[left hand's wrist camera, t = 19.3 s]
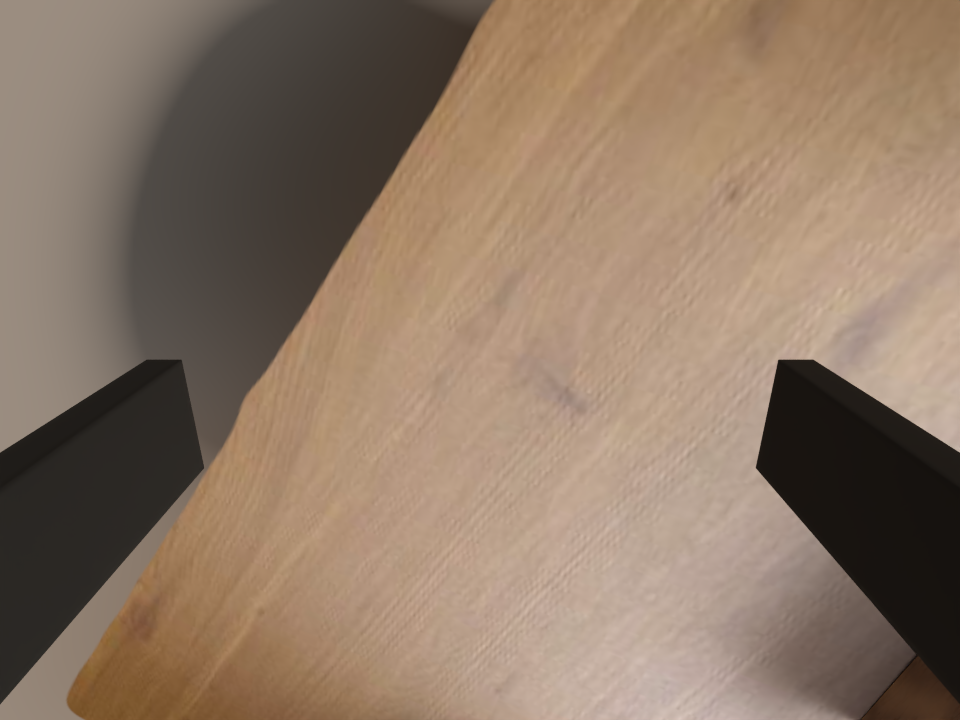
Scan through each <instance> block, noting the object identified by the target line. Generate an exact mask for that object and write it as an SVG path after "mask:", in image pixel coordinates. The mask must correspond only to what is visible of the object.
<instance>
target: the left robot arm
mask: <svg viewBox="0 0 960 720" xmlns="http://www.w3.org/2000/svg"><path fill="white" fill-rule="evenodd" d="M203 469H204V465H203V460H202V455H201V450H200V446H199V441H198V436H197V431H196V427H195V422H194V417H193V412H192V407H191V403H190V398H189V393H188V388H187V384H186V379H185V374H184V369H183V364H182V360H146V361H144V362H143V363H141V364H139V365H138V366H136V367H135V368H133V369H131V370H130V371H128V372H127V373H125V374H124V375H122V376H120V377H119V378H117V379H116V380H114V381H112V382H111V383H109V384H108V385H106V386H105V387H103V388H102V389H100V390H98V391H97V392H95V393H94V394H92V395H91V396H89V397H87V398H86V399H84V400H83V401H81V402H79V403H78V404H76V405H75V406H73V407H72V408H70V409H68V410H67V411H65V412H64V413H62V414H60V415H59V416H57V417H56V418H54V419H53V420H51V421H49V422H48V423H46V424H45V425H43V426H42V427H40V428H38V429H37V430H35V431H34V432H32V433H31V434H29V435H27V436H26V437H24V438H23V439H21V440H20V441H18V442H16V443H15V444H13V445H12V446H10V447H8V448H7V449H5V450H4V451H2V452H1V453H0V704H1V703H2V702H3V700H4V699H5V698H6V697H7V696H8V695H9V693H10V692H11V691H12V690H13V689H14V688H15V687H16V685H17V684H18V683H19V682H20V681H21V680H22V678H23V677H24V676H25V675H26V674H27V673H28V671H29V670H30V669H31V668H32V667H33V666H34V664H35V663H36V662H37V661H38V660H39V659H40V658H41V656H42V655H43V654H44V653H45V652H46V651H47V649H48V648H49V647H50V646H51V645H52V644H53V643H54V641H55V640H56V639H57V638H58V637H59V636H60V634H61V633H62V632H63V631H64V630H65V629H66V627H67V626H68V625H69V624H70V623H71V622H72V620H73V619H74V618H75V617H76V616H77V615H78V614H79V612H80V611H81V610H82V609H83V608H84V606H85V605H86V604H87V603H88V602H89V601H90V600H91V598H92V597H93V596H94V595H95V594H96V593H97V592H98V590H99V589H100V588H101V587H102V586H103V585H104V583H105V582H106V581H107V580H108V579H109V578H110V576H111V575H112V574H113V573H114V572H115V571H116V569H117V568H118V567H119V566H120V565H121V564H122V562H123V561H124V560H125V559H126V558H127V557H128V556H129V554H130V553H131V552H132V551H133V550H134V549H135V547H136V546H137V545H138V544H139V543H140V542H141V540H142V539H143V538H144V537H145V536H146V535H147V534H148V532H149V531H150V530H151V529H152V528H153V527H154V525H155V524H156V523H157V522H158V521H159V520H160V519H161V517H162V516H163V515H164V514H165V513H166V512H167V510H168V509H169V508H170V507H171V506H172V505H173V503H174V502H175V501H176V500H177V499H178V498H179V496H180V495H181V494H182V493H183V492H184V491H185V490H186V488H187V487H188V486H189V485H190V484H191V483H192V481H193V480H194V479H195V478H196V477H197V476H198V474H199V473H200V472H201V471H202V470H203ZM756 469H757V470H758V471H759V472H760V473H761V474H762V476H763V477H764V478H765V479H766V480H767V481H768V483H769V484H770V485H771V486H772V487H773V488H774V490H775V491H776V492H777V493H778V494H779V495H780V497H781V498H782V499H783V500H784V501H785V502H786V503H787V505H788V506H789V507H790V508H791V509H792V510H793V512H794V513H795V514H796V515H797V516H798V517H799V519H800V520H801V521H802V522H803V523H804V524H805V525H806V527H807V528H808V529H809V530H810V531H811V532H812V534H813V535H814V536H815V537H816V538H817V539H818V541H819V542H820V543H821V544H822V545H823V546H824V547H825V549H826V550H827V551H828V552H829V553H830V554H831V556H832V557H833V558H834V559H835V560H836V561H837V563H838V564H839V565H840V566H841V567H842V568H843V570H844V571H845V572H846V573H847V574H848V575H849V576H850V578H851V579H852V580H853V581H854V582H855V583H856V585H857V586H858V587H859V588H860V589H861V590H862V592H863V593H864V594H865V595H866V596H867V597H868V598H869V600H870V601H871V602H872V603H873V604H874V605H875V607H876V608H877V609H878V610H879V611H880V612H881V614H882V615H883V616H884V617H885V618H886V619H887V620H888V622H889V623H890V624H891V625H892V626H893V627H894V629H895V630H896V631H897V632H898V633H899V634H900V636H901V637H902V638H903V639H904V640H905V641H906V643H907V644H908V645H909V646H910V647H911V648H912V649H913V651H914V652H915V653H916V654H917V655H918V656H919V658H920V659H921V660H922V661H923V662H924V663H925V665H926V666H927V667H928V668H929V669H930V670H931V671H932V673H933V674H934V675H935V676H936V677H937V678H938V680H939V681H940V682H941V683H942V684H943V685H944V687H945V688H946V689H947V690H948V691H949V692H950V693H951V695H952V696H953V697H954V698H955V699H956V700H957V702H958V703H959V704H960V453H959V452H958V451H956V450H955V449H953V448H952V447H950V446H948V445H947V444H945V443H944V442H942V441H940V440H939V439H937V438H936V437H934V436H933V435H931V434H929V433H928V432H926V431H925V430H923V429H922V428H920V427H918V426H917V425H915V424H914V423H912V422H911V421H909V420H907V419H906V418H904V417H903V416H901V415H900V414H898V413H896V412H895V411H893V410H892V409H890V408H888V407H887V406H885V405H884V404H882V403H881V402H879V401H877V400H876V399H874V398H873V397H871V396H870V395H868V394H866V393H865V392H863V391H862V390H860V389H859V388H857V387H855V386H854V385H852V384H851V383H849V382H848V381H846V380H844V379H843V378H841V377H840V376H838V375H836V374H835V373H833V372H832V371H830V370H829V369H827V368H825V367H824V366H822V365H821V364H819V363H818V362H816V361H814V360H778V364H777V369H776V374H775V379H774V383H773V388H772V393H771V398H770V403H769V407H768V412H767V417H766V422H765V427H764V431H763V436H762V441H761V446H760V450H759V455H758V460H757V465H756Z"/></svg>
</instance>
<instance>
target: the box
mask: <svg viewBox="0 0 960 720" xmlns="http://www.w3.org/2000/svg"><path fill="white" fill-rule="evenodd" d="M861 720H960V704H959V703H958V702H957V700H956V699H955V698H954V697H953V696H952V695H951V693H950V692H949V691H948V690H947V689H946V688H945V687H944V685H943V684H942V683H941V682H940V681H939V680H938V678H937V677H936V676H935V675H934V674H933V673H932V671H931V670H930V669H929V668H928V667H927V666H926V665H925V663H924V662H923V661H922V660H921V659H920V658H919V656H917V657H916V658H915V659H914V661H913V662H912V663H911V664H910V665H909V666H908V667H907V668H906V670H905V671H904V672H903V673H902V674H901V675H900V676H899V677H898V679H897V680H896V681H895V682H894V683H893V684H892V685H891V686H890V688H889V689H888V690H887V691H886V692H885V693H884V694H883V695H882V697H881V698H880V699H879V700H878V701H877V702H876V703H875V704H874V706H873V707H872V708H871V709H870V710H869V711H868V712H867V713H866V715H865V716H864V717H863V718H862V719H861Z"/></svg>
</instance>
